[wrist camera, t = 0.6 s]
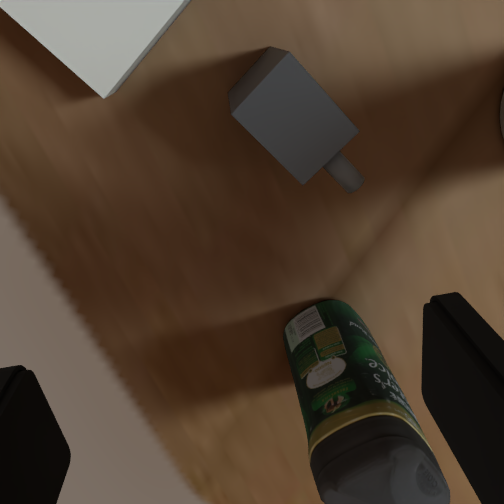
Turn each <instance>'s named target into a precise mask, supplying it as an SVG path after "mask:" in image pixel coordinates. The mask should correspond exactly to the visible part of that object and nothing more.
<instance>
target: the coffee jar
mask: <svg viewBox="0 0 504 504" xmlns="http://www.w3.org/2000/svg"><path fill="white" fill-rule="evenodd" d="M283 340H284V344H285V349H286V353H287V357H288V360H289V364H290V368H291V372H292V375H293V379H294V383H295V387H296V391H297V395H298V399H299V403H300V407H301V411H302V415H303V419H304V423H305V428H306V432H307V438H308V454H309V461H310V467H311V470H312V473H313V476H314V480H315V483H316V486H317V490H318V492H319V495H320V498H321V500H322V501H323V502H324V503H325V504H449V503H450V490H449V487H448V485H447V482H446V480H445V478H444V476H443V473H442V471H441V469H440V467H439V464H438V462H437V460H436V458H435V455H434V453H433V452H432V449H431V448H430V446H429V444H428V442H427V440H426V438H425V436H424V434H423V432H422V430H421V427H420V425H419V423H418V421H417V419H416V417H415V415H414V413H413V411H412V410H411V408H410V406H409V404H408V402H407V400H406V398H405V396H404V394H403V392H402V390H401V389H400V387H399V385H398V383H397V381H396V379H395V377H394V376H393V374H392V372H391V370H390V368H389V367H388V365H387V363H386V361H385V359H384V357H383V355H382V353H381V351H380V349H379V347H378V346H377V344H376V342H375V340H374V338H373V337H372V335H371V333H370V331H369V329H368V328H367V326H366V325H365V323H364V322H363V320H362V319H361V318H360V316H359V315H358V314H357V313H356V312H355V311H354V310H353V309H352V308H351V307H350V306H349V305H348V304H346V303H344V302H342V301H339V300H327V301H323V302H320V303H317V304H315V305H312V306H310V307H308V308H306V309H304V310H303V311H301V312H300V313H299V314H297V315H296V316H295V317H294V318H293V319H291V320H290V322H289V323H288V324H287V325H286V327H285V329H284V333H283Z"/></svg>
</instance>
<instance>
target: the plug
mask: <svg viewBox="0 0 504 504" xmlns="http://www.w3.org/2000/svg"><path fill="white" fill-rule="evenodd" d="M228 97H229V104H230V111H231V115H232V116H233V117H234V118H235V119H236V120H237V121H238V122H239V123H240V124H241V125H242V126H243V127H244V128H245V129H246V130H247V131H248V132H249V133H250V134H251V135H252V136H253V137H254V138H255V139H256V140H257V141H258V142H259V143H261V144H262V145H263V146H264V147H265V148H266V149H267V150H268V151H269V152H270V153H271V154H272V155H273V156H274V157H275V158H276V159H277V160H278V161H279V162H280V163H281V164H282V165H283V166H284V167H285V168H286V169H287V170H288V171H289V172H290V173H291V174H292V175H293V176H294V177H295V178H296V179H297V180H298V181H299V182H300V183H301V184H302V185H304V184H305V183H306V182H307V181H308V180H309V179H310V178H311V177H312V176H313V175H314V174H316V173H317V172H318V171H319V170H320V169H321V168H322V167H323V168H324V169H325V170H326V171H327V172H328V173H329V174H330V175H331V176H332V177H333V178H334V179H335V180H336V181H337V182H338V183H339V184H340V185H341V186H342V187H343V188H344V189H345V191H346V192H347V193H352V192H354V191H356V190H357V189H358V188H360V186H361V185H362V184H363V182H364V180H365V178H364V177H363V176H362V175H361V174H360V172H359V171H358V170H357V169H356V168H355V167H354V166H353V165H352V164H351V163H350V162H349V161H348V160H347V158H346V157H345V156H344V155H343V154H342V153H341V152H340V150H341V149H342V148H343V147H344V146H345V145H346V144H347V143H348V142H349V141H350V140H351V139H352V138H353V137H354V136H355V135H356V134H357V133H359V132H360V131H359V130H358V129H357V127H356V126H355V125H354V124H353V123H352V122H351V121H350V120H349V118H348V117H347V116H346V115H345V114H344V113H343V112H342V110H341V109H340V108H339V107H338V106H337V105H336V104H335V103H334V101H333V100H332V99H331V98H330V97H329V96H328V95H327V94H326V92H325V91H324V90H323V89H322V88H321V87H320V86H319V84H318V83H317V82H316V81H315V80H314V79H313V78H312V77H311V75H310V74H309V73H308V72H307V71H306V70H305V69H304V68H303V66H302V65H301V64H300V63H299V62H298V61H297V60H296V59H295V57H294V56H293V55H292V54H291V53H290V52H289V51H285V50H282V49H278V48H274V47H271V46H270V47H269V48H268V49H267V50H266V51H265V53H264V54H263V55H262V56H261V57H260V58H259V59H258V60H257V61H256V62H255V64H254V65H253V66H252V67H251V68H250V69H249V70H248V71H247V72H246V73H245V74H244V76H243V77H242V78H241V79H240V80H239V81H238V82H237V83H236V84H235V85H234V87H233V88H232V89H231V90H230V91H229V92H228Z"/></svg>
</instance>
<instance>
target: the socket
mask: <svg viewBox="0 0 504 504" xmlns="http://www.w3.org/2000/svg"><path fill="white" fill-rule="evenodd" d="M190 1H191V0H0V7H1V8H2V9H3V10H4V11H5V12H6V13H8V14H9V15H10V16H11V17H12V18H13V19H14V20H15V21H17V22H18V23H19V24H20V25H21V26H22V27H23V28H24V29H26V30H27V31H28V32H29V33H30V34H31V35H32V36H33V37H35V38H36V39H37V40H38V41H39V42H40V43H41V44H42V45H44V46H45V47H46V48H47V49H48V50H49V51H50V52H51V53H53V54H54V55H55V56H56V57H57V58H58V59H59V60H60V61H62V62H63V63H64V64H65V65H66V66H67V67H68V68H69V69H71V70H72V71H73V72H74V73H75V74H76V75H77V76H79V77H80V78H81V79H82V80H83V81H84V82H85V83H86V84H88V85H89V86H90V87H91V88H92V89H93V90H94V91H95V92H97V93H98V94H99V95H100V96H101V97H102V98H103V99H105V98H106V97H108V96H110V95H111V94H113V93H115V92H116V91H117V90H118V89H119V88H120V86H121V85H122V84H123V83H124V82H125V80H126V79H127V78H128V77H129V75H130V74H131V73H132V72H133V71H134V69H135V68H136V67H137V66H138V65H139V63H140V62H141V61H142V60H143V58H144V57H145V56H146V55H147V54H148V52H149V51H150V50H151V49H152V48H153V46H154V45H155V44H156V43H157V41H158V40H159V39H160V38H161V37H162V35H163V34H164V33H165V32H166V31H167V29H168V28H169V27H170V26H171V24H172V23H173V22H174V21H175V20H176V18H177V17H178V16H179V15H180V14H181V12H182V11H183V10H184V9H185V7H186V6H187V5H188V4H189V3H190Z"/></svg>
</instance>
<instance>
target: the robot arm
mask: <svg viewBox="0 0 504 504" xmlns="http://www.w3.org/2000/svg"><path fill="white" fill-rule="evenodd" d="M500 124H501V132H502V135H503V138H504V92H503V96H502V100H501V108H500ZM422 395H423V399H424V402H425V404H426V406H427V408H428V410H429V411H430V413H431V415H432V417H433V418H434V420H435V422H436V424H437V425H438V427H439V429H440V431H441V433H442V434H443V436H444V438H445V440H446V441H447V443H448V445H449V447H450V449H451V450H452V452H453V454H454V456H455V457H456V459H457V461H458V463H459V464H460V466H461V468H462V470H463V472H464V473H465V475H466V477H467V479H468V480H469V482H470V484H471V486H472V488H473V489H474V491H475V493H476V495H477V496H478V498H479V500H480V502H481V503H482V504H504V340H503V339H502V338H501V337H500V336H499V335H498V334H497V333H496V332H495V331H494V330H493V329H492V328H491V326H490V325H489V324H488V323H487V322H486V321H485V320H484V319H483V318H482V317H481V316H480V315H479V314H478V313H477V311H476V310H475V309H474V308H473V307H472V306H471V305H470V304H469V303H468V302H467V301H466V300H465V299H464V298H463V297H462V295H461V294H459V293H457V292H454V293H448V294H442V295H436V296H432V297H431V299H430V303H426V304H424V307H423V344H422ZM70 457H71V453H70V449H69V446H68V444H67V442H66V440H65V437H64V435H63V434H62V431H61V429H60V427H59V425H58V423H57V421H56V418H55V416H54V414H53V412H52V410H51V408H50V406H49V404H48V402H47V399H46V397H45V395H44V393H43V391H42V389H41V387H40V385H39V383H38V381H37V378H36V376H35V374H34V373H33V372H32V371H31V370H26V368H25V367H23V366H22V365H18V366H11V367H6V368H0V504H56V503H57V500H58V497H59V494H60V491H61V488H62V485H63V482H64V479H65V476H66V473H67V470H68V467H69V464H70Z"/></svg>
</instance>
